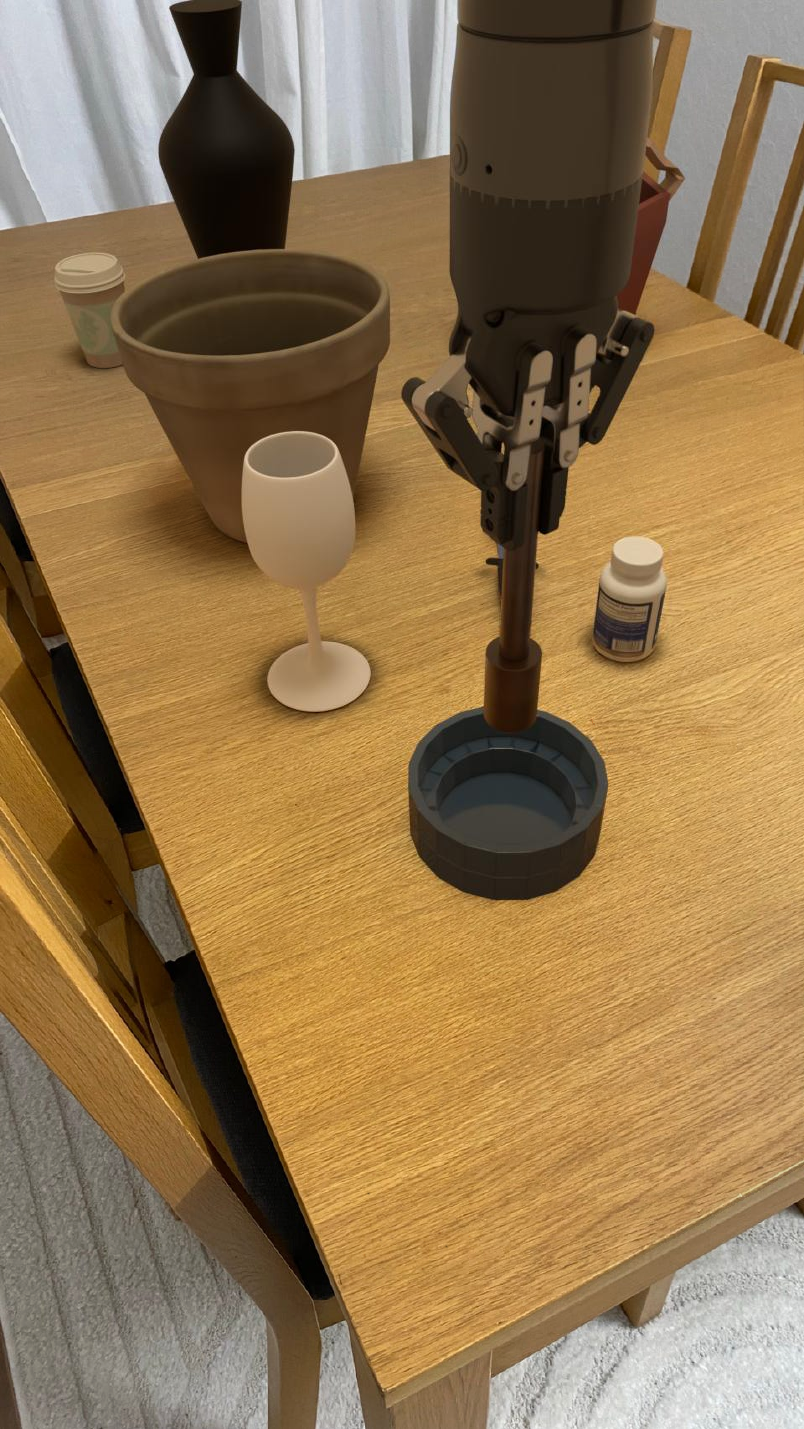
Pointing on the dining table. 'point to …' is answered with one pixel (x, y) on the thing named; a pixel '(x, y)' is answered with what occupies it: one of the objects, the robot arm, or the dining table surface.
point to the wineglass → (304, 557)
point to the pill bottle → (630, 600)
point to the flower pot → (254, 359)
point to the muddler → (517, 625)
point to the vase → (224, 142)
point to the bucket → (649, 225)
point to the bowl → (506, 805)
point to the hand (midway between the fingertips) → (522, 532)
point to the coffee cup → (92, 302)
